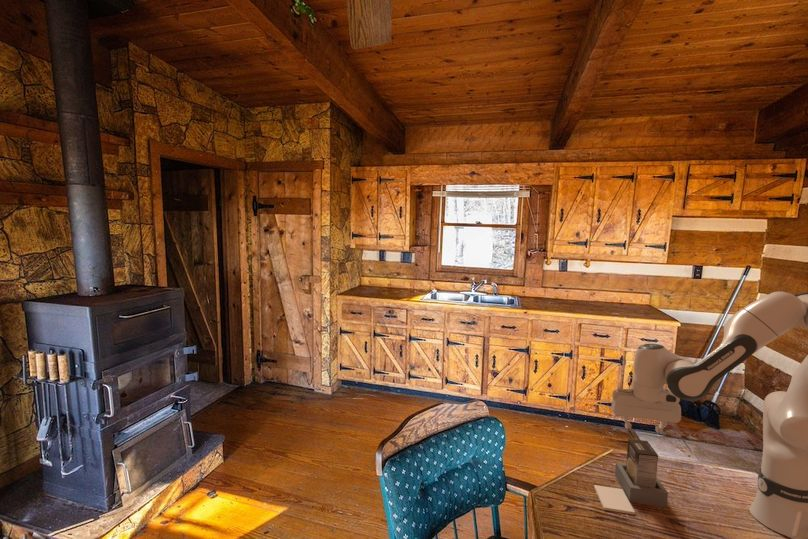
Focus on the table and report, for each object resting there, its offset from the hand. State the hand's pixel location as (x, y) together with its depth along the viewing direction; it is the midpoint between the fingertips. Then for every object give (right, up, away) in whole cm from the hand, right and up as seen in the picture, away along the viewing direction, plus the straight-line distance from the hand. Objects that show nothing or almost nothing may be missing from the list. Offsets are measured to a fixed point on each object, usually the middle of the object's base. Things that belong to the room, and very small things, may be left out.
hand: (643, 430), depth 126 cm
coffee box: (0, -22, +2) cm, 22 cm away
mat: (-12, -22, -3) cm, 25 cm away
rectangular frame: (0, -22, +2) cm, 22 cm away
